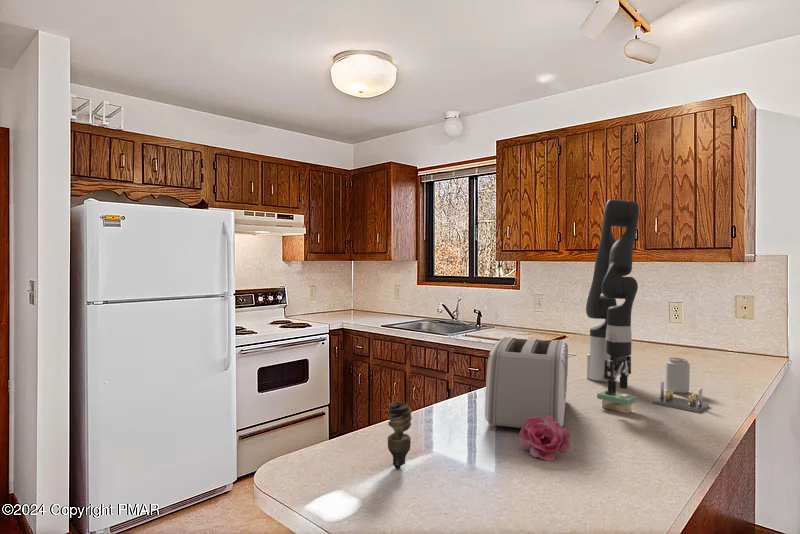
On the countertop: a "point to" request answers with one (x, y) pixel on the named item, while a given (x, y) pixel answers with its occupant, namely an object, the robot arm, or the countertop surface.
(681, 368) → the can
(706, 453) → the countertop surface
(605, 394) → the board
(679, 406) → the chassis
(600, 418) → the countertop surface
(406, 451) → the light bulb
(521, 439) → the flower
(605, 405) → the beige wooden block
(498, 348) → the toaster
